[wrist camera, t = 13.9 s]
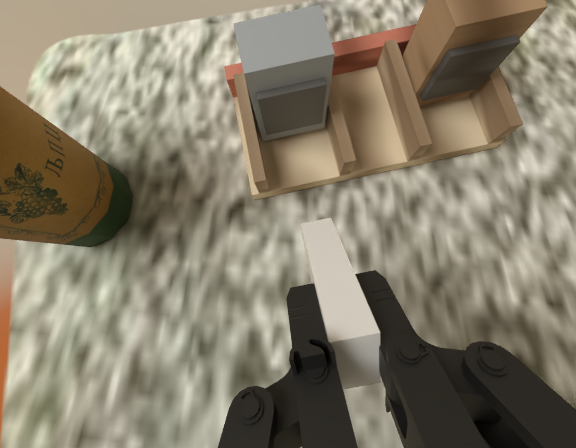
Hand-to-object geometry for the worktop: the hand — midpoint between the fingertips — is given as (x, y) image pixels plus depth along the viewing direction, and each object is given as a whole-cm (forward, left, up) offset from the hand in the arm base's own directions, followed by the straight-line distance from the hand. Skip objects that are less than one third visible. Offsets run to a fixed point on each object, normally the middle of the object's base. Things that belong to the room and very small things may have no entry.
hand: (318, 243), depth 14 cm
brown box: (-15, -14, -11) cm, 23 cm away
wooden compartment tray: (-8, -13, -12) cm, 20 cm away
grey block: (-1, -14, -11) cm, 18 cm away
